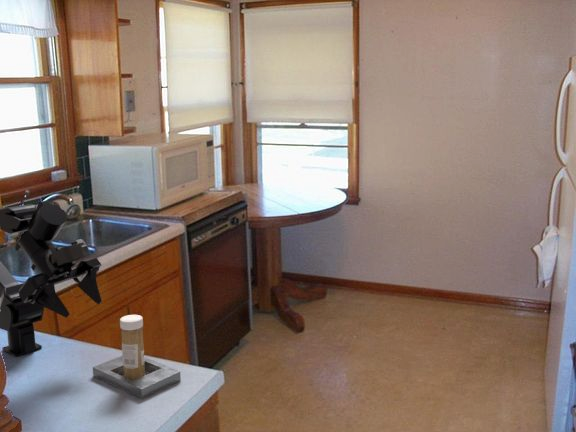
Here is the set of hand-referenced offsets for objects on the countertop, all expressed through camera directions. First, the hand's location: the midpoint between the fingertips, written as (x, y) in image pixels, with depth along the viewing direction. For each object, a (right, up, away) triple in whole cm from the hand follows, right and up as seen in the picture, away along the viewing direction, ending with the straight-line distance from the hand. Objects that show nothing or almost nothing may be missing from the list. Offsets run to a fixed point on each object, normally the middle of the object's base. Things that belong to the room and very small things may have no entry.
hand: (84, 309), depth 128 cm
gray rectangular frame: (+11, -14, -2) cm, 18 cm away
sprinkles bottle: (+11, -14, -2) cm, 18 cm away
